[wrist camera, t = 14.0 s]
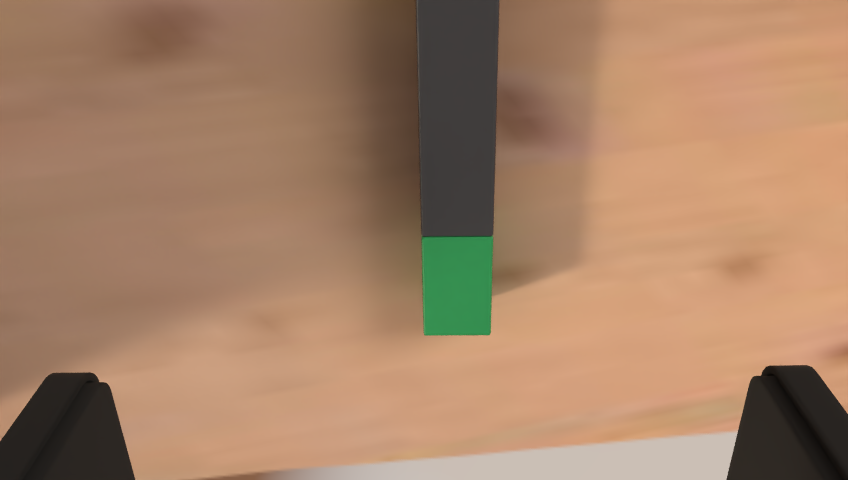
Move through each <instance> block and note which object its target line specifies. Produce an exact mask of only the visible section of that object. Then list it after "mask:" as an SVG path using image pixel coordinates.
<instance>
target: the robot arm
mask: <svg viewBox="0 0 848 480" xmlns="http://www.w3.org/2000/svg"><path fill="white" fill-rule="evenodd" d="M0 480H135V477H134V474H133V470H132V466H131V462H130V459H129V455H128V451H127V448H126V444H125V440H124V437H123V433H122V429H121V425H120V422H119V418H118V414H117V411H116V407H115V403H114V400H113V396H112V392H111V389H110V387H109V385H108V384H107V383H104V382H99V380H98V378H97V376H96V375H95V374H93V373H52V374H50V375H48V376H47V377H46V378H45V380H44V381H43V382H42V384H41V385H40V387H39V388H38V389H37V391H36V392H35V394H34V395H33V396H32V398H31V399H30V401H29V402H28V403H27V405H26V406H25V408H24V409H23V410H22V412H21V413H20V415H19V416H18V417H17V419H16V420H15V422H14V423H13V424H12V426H11V427H10V429H9V430H8V431H7V433H6V434H5V436H4V437H3V438H2V440H1V441H0ZM727 480H848V414H847V413H846V411H845V410H844V408H843V407H842V406H841V404H840V403H839V402H838V400H837V399H836V398H835V396H834V395H833V394H832V392H831V391H830V389H829V388H828V387H827V385H826V384H825V383H824V381H823V380H822V379H821V377H820V376H819V375H818V373H817V372H816V371H815V370H814V369H813V368H812V367H810V366H807V365H793V366H768V367H766V368H765V369H764V370H763V372H762V375H761V376H754V377H753V378H752V379H751V381H750V384H749V388H748V392H747V396H746V400H745V405H744V409H743V413H742V417H741V421H740V425H739V430H738V434H737V438H736V442H735V446H734V451H733V455H732V459H731V463H730V467H729V471H728V476H727Z"/></svg>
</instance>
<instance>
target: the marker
mask: <svg viewBox="0 0 848 480" xmlns="http://www.w3.org/2000/svg"><path fill="white" fill-rule="evenodd" d="M416 33H417V74H418V116H419V158H420V199H421V235H422V237H421V241H422V282H423V324H424V335H490V333H491V300H492V262H493V224H494V186H495V147H496V109H497V71H498V33H499V0H416Z"/></svg>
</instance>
